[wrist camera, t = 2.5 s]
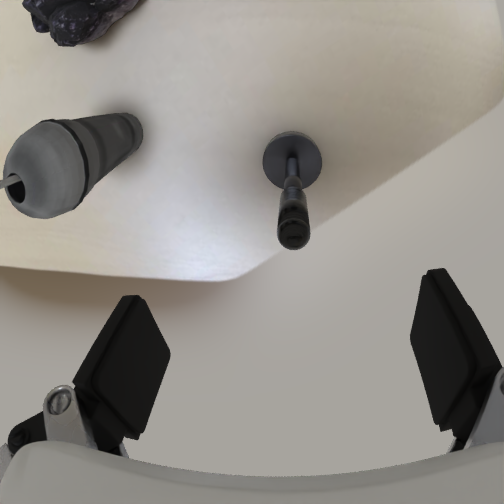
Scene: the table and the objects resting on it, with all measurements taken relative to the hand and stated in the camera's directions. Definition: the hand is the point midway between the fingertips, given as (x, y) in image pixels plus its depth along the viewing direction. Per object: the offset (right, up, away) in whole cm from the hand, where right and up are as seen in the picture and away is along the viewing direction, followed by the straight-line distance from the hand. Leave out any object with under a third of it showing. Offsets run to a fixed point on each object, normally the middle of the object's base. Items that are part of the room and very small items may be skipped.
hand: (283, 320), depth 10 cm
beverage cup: (-14, +14, +18) cm, 27 cm away
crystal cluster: (-17, +29, +9) cm, 35 cm away
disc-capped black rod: (+3, +11, +17) cm, 21 cm away
